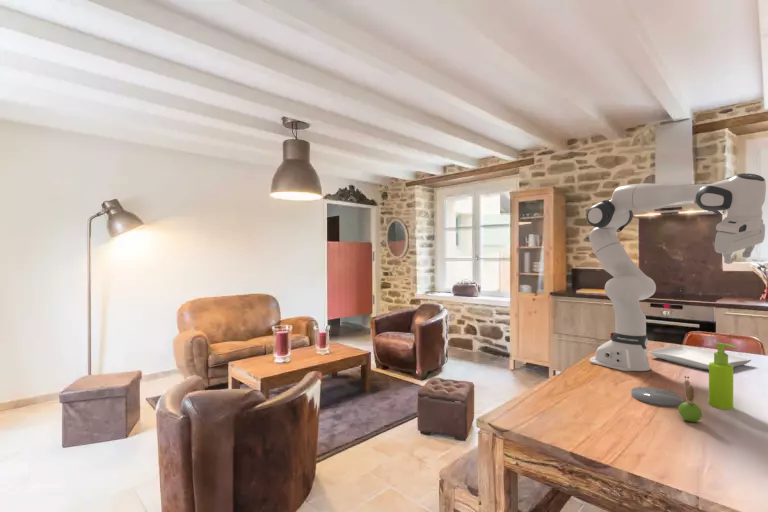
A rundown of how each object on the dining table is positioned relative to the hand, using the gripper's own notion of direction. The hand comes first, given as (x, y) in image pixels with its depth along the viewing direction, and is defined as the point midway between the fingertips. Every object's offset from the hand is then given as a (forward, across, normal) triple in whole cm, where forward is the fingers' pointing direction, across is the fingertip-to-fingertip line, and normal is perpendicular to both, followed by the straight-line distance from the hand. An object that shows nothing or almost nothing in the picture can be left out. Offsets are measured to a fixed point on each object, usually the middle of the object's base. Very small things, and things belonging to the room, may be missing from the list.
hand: (737, 260), depth 138 cm
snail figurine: (+32, +51, +21) cm, 63 cm away
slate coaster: (+37, +44, +7) cm, 58 cm away
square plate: (+57, -14, -16) cm, 61 cm away
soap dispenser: (+37, +31, +18) cm, 52 cm away
